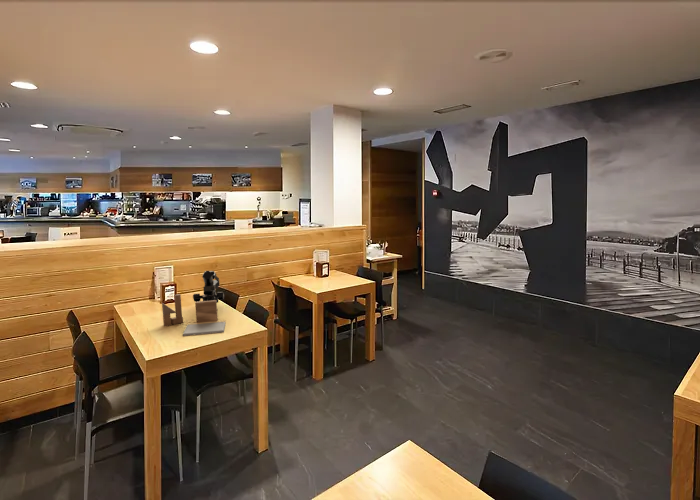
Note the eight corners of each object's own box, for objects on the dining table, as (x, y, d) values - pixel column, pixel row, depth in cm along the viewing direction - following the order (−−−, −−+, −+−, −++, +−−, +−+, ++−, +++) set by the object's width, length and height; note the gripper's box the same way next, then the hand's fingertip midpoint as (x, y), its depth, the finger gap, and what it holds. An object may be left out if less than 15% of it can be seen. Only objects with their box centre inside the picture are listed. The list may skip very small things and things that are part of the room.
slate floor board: (187, 325, 242) (187, 323, 242) (225, 322, 247) (225, 320, 247) (182, 335, 225) (182, 333, 224) (223, 332, 230) (223, 329, 230)
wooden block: (163, 325, 245) (161, 296, 242) (181, 321, 251) (179, 293, 249) (165, 326, 242) (162, 297, 239) (183, 322, 248) (181, 294, 246)
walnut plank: (197, 323, 246) (195, 301, 245) (217, 321, 249) (216, 300, 247) (196, 325, 244) (195, 302, 242) (217, 323, 246) (215, 301, 244)
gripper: (192, 281, 256) (190, 303, 247) (222, 279, 260) (222, 300, 251) (194, 290, 265) (193, 311, 256) (224, 288, 269) (224, 309, 260)
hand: (208, 308), depth 255 cm, fingers closed
